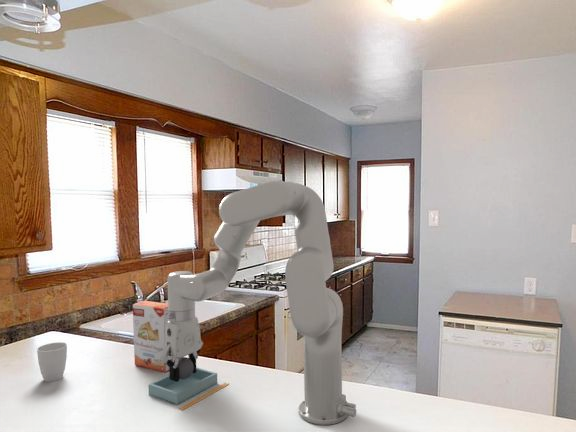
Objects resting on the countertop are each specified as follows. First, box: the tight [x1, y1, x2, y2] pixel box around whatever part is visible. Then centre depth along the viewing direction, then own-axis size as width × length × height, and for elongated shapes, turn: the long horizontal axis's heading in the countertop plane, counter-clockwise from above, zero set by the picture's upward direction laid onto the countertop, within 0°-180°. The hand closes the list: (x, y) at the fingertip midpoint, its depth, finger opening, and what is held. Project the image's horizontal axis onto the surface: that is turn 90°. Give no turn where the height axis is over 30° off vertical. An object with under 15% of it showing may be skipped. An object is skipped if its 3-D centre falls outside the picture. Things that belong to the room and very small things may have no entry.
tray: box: [147, 367, 230, 411], centre depth 120 cm, size 15×18×3 cm
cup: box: [36, 341, 68, 383], centre depth 130 cm, size 8×8×10 cm
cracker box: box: [132, 300, 174, 373], centre depth 138 cm, size 14×6×21 cm, turn 62°
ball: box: [177, 356, 194, 379], centre depth 121 cm, size 6×6×6 cm
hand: (183, 375), depth 121 cm, fingers closed on ball, 5 cm apart
